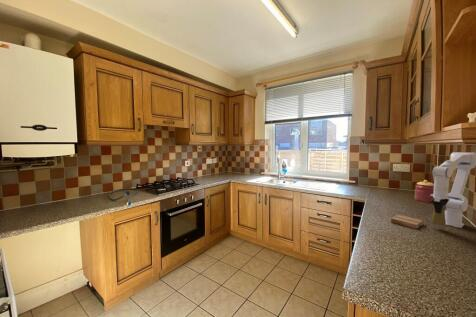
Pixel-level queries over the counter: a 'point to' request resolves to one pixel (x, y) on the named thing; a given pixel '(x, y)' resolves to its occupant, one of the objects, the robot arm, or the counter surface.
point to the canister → (424, 191)
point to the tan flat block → (407, 221)
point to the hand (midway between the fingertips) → (439, 212)
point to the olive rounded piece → (439, 217)
